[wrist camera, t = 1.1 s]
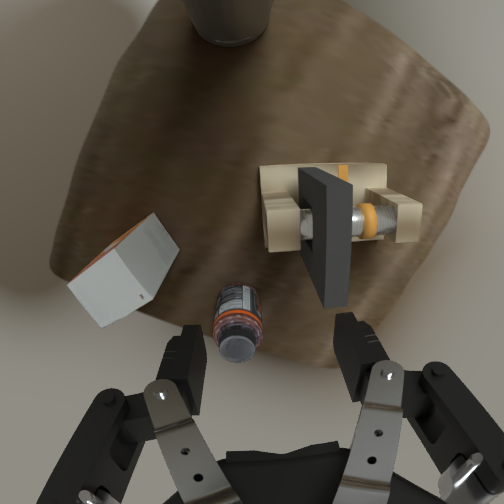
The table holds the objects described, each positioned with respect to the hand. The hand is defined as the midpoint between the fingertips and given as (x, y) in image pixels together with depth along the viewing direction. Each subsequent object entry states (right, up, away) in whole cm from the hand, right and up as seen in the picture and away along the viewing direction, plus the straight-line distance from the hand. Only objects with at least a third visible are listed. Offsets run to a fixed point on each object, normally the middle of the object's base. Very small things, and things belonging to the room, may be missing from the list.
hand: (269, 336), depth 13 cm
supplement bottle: (-3, -3, +29) cm, 29 cm away
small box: (-15, +5, +26) cm, 30 cm away
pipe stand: (+8, +10, +24) cm, 27 cm away
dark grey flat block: (+6, +8, +20) cm, 22 cm away
